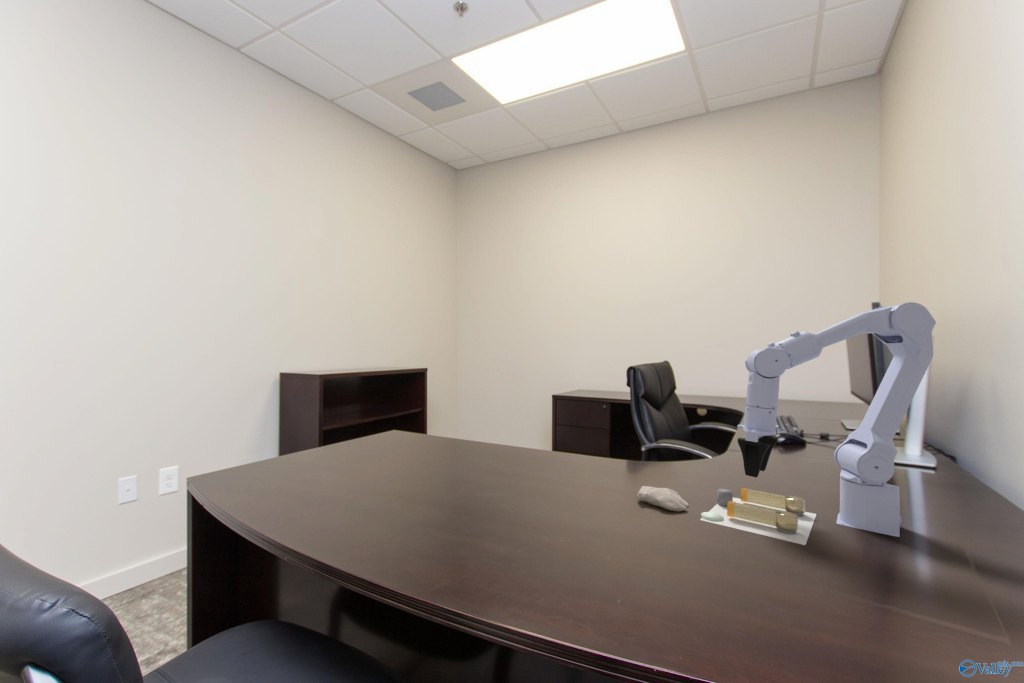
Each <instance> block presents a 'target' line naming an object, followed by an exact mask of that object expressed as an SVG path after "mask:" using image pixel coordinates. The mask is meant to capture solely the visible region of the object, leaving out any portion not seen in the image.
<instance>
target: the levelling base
mask: <svg viewBox="0 0 1024 683" xmlns="http://www.w3.org/2000/svg"><path fill="white" fill-rule="evenodd" d="M733 495H734V491H733V490H730V489H727V488H718V489H717V496H716V497H717V499H716V502H717V503H716V504H715V505H714V506H713V507H711V509H710V510H709V511H703V512H701V513H700V519H699V520H700V521H702V522H706V523H709V524H710V523H711V524H715V525H718V526H723V527H728V528H732V529H736V530H739V531H744V532H747V533H752V534H757V535H762V536H765V537H769V538H773V539H778V540H782V541H785V542H790V543H794V544H798V545H801V546H807V542H808V539H809V537H810V534H811V531H812V527H813V525H814V523H815V521H816V517H817V513H814V512H808V511H805V513H802V514H799V513H794V514H796V515H797V516H798V530H797V531H786V530H782V529H779V528H777V527H776V526H772V525H768V524H763V523H759V522H754V521H750V520H745V519H741V518H736V517H730V516H727V503H728V502H729V501H732V502H736V503H740V504H745V505H750V506H755V507H760V508H765V509H769V510H774V511H787V510H785V509H780V508H775V507H770V506H765V505H760V504H755V503H750V502H744V501H741V498H739V497H734V496H733ZM787 512H789V511H787ZM791 513H793V512H791Z"/></svg>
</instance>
